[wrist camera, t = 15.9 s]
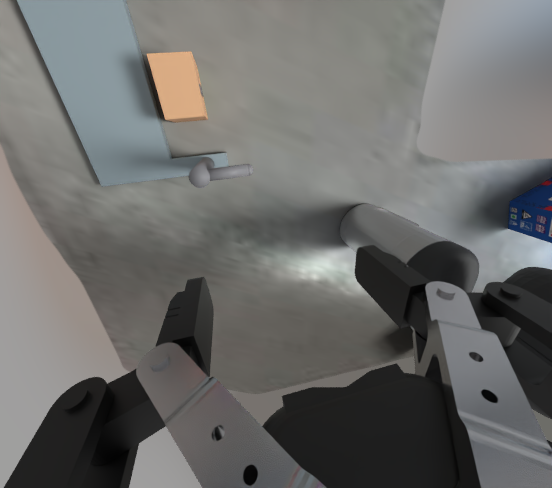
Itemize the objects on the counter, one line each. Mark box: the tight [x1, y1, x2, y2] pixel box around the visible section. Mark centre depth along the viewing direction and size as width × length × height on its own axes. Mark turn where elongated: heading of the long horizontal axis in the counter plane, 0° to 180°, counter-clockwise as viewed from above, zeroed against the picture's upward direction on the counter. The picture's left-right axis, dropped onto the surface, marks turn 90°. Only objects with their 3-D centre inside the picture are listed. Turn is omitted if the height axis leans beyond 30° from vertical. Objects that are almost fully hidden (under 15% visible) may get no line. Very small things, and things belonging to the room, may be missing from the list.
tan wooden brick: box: [147, 52, 208, 123], centre depth 27 cm, size 5×6×6 cm
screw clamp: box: [17, 0, 253, 188], centre depth 22 cm, size 21×24×14 cm
